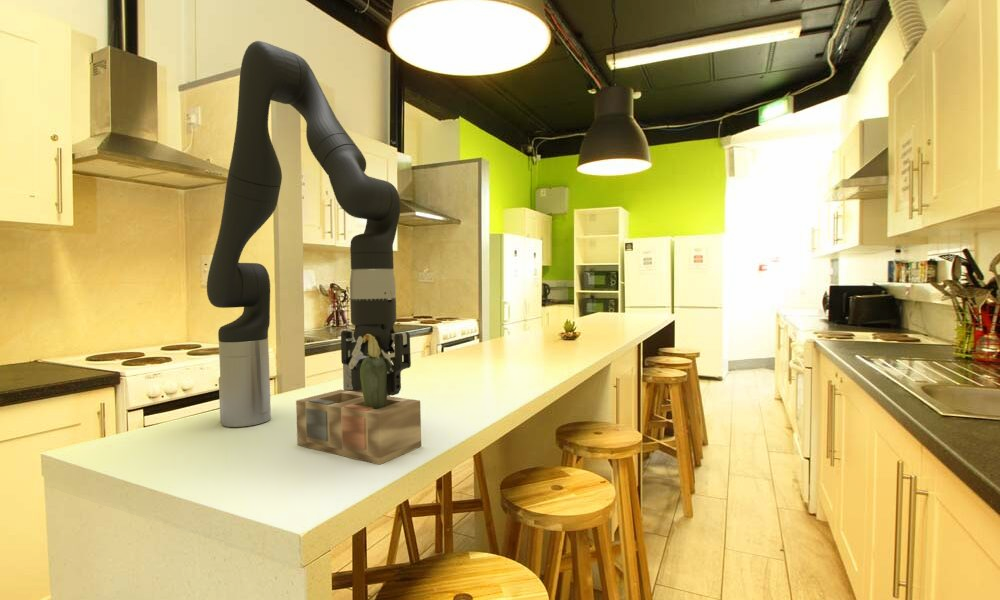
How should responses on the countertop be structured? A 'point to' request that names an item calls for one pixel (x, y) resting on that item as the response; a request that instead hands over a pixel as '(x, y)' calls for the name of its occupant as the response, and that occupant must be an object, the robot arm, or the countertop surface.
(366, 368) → the vegetable
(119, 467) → the countertop surface
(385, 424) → the holder
